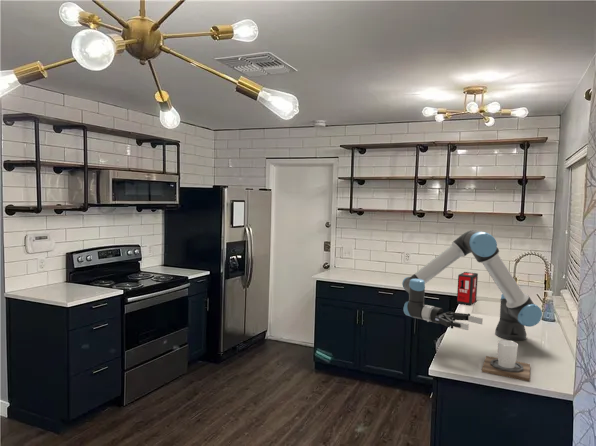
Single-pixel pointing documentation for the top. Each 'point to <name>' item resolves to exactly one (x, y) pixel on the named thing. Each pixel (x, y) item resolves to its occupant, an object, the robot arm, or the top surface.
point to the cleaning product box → (467, 288)
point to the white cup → (507, 353)
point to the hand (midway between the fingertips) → (475, 324)
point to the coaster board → (507, 369)
